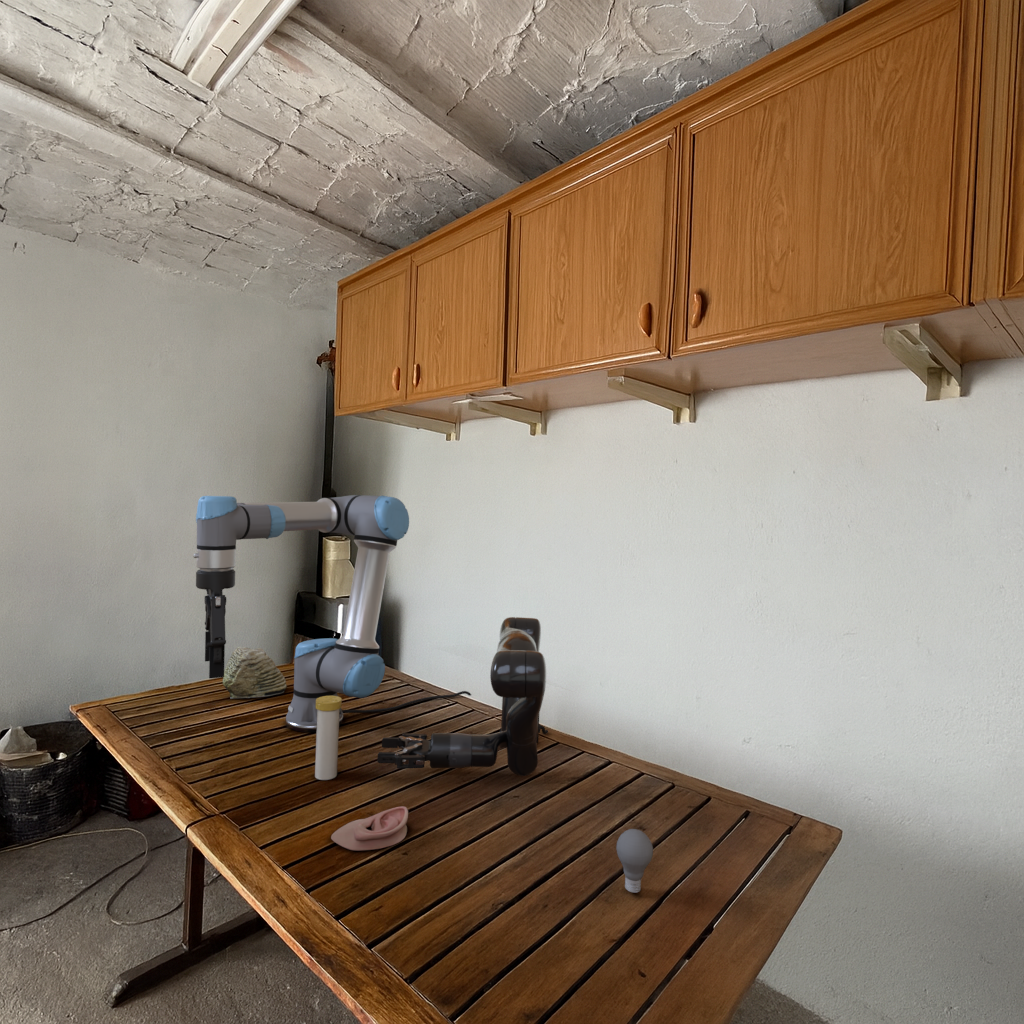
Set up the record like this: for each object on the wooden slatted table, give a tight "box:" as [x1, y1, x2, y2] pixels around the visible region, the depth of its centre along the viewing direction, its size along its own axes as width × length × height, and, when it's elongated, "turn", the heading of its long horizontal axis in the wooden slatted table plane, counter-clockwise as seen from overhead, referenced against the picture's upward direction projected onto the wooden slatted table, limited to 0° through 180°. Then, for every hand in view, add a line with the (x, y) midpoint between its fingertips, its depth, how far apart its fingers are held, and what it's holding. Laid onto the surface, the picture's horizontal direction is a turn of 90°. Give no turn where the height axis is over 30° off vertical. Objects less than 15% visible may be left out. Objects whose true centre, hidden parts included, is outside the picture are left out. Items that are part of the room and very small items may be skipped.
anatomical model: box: [330, 805, 409, 852], centre depth 119 cm, size 13×4×12 cm
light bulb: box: [615, 828, 654, 894], centre depth 106 cm, size 6×6×10 cm
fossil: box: [222, 646, 288, 699], centre depth 198 cm, size 9×18×15 cm, turn 132°
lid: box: [316, 695, 343, 711], centre depth 144 cm, size 6×6×2 cm
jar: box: [314, 709, 340, 781], centre depth 144 cm, size 5×5×17 cm
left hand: (214, 668), depth 134 cm, fingers open, 13 cm apart
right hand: (379, 749), depth 144 cm, fingers open, 8 cm apart
